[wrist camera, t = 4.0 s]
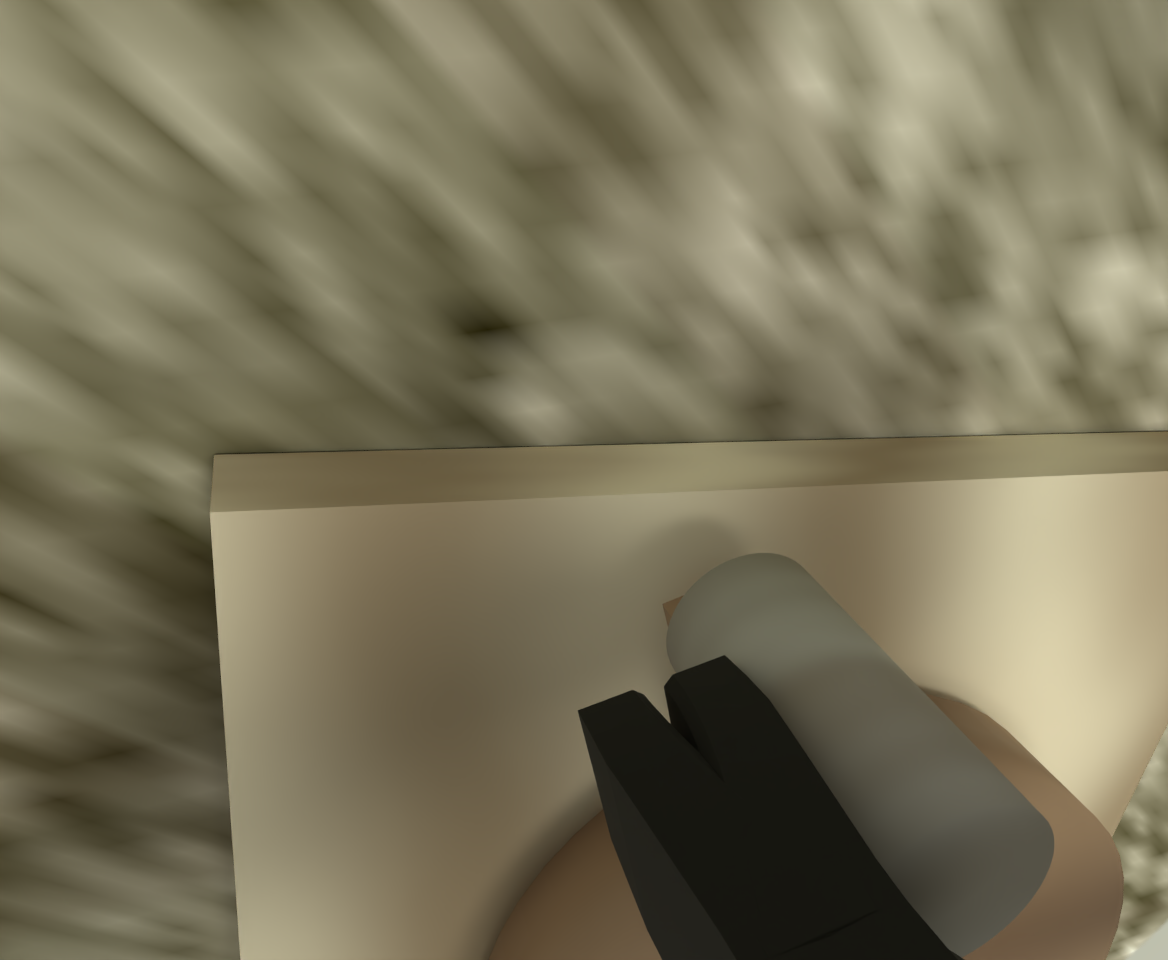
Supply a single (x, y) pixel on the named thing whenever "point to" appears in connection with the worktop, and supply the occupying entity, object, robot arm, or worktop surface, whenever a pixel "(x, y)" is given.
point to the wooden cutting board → (628, 640)
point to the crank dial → (863, 791)
